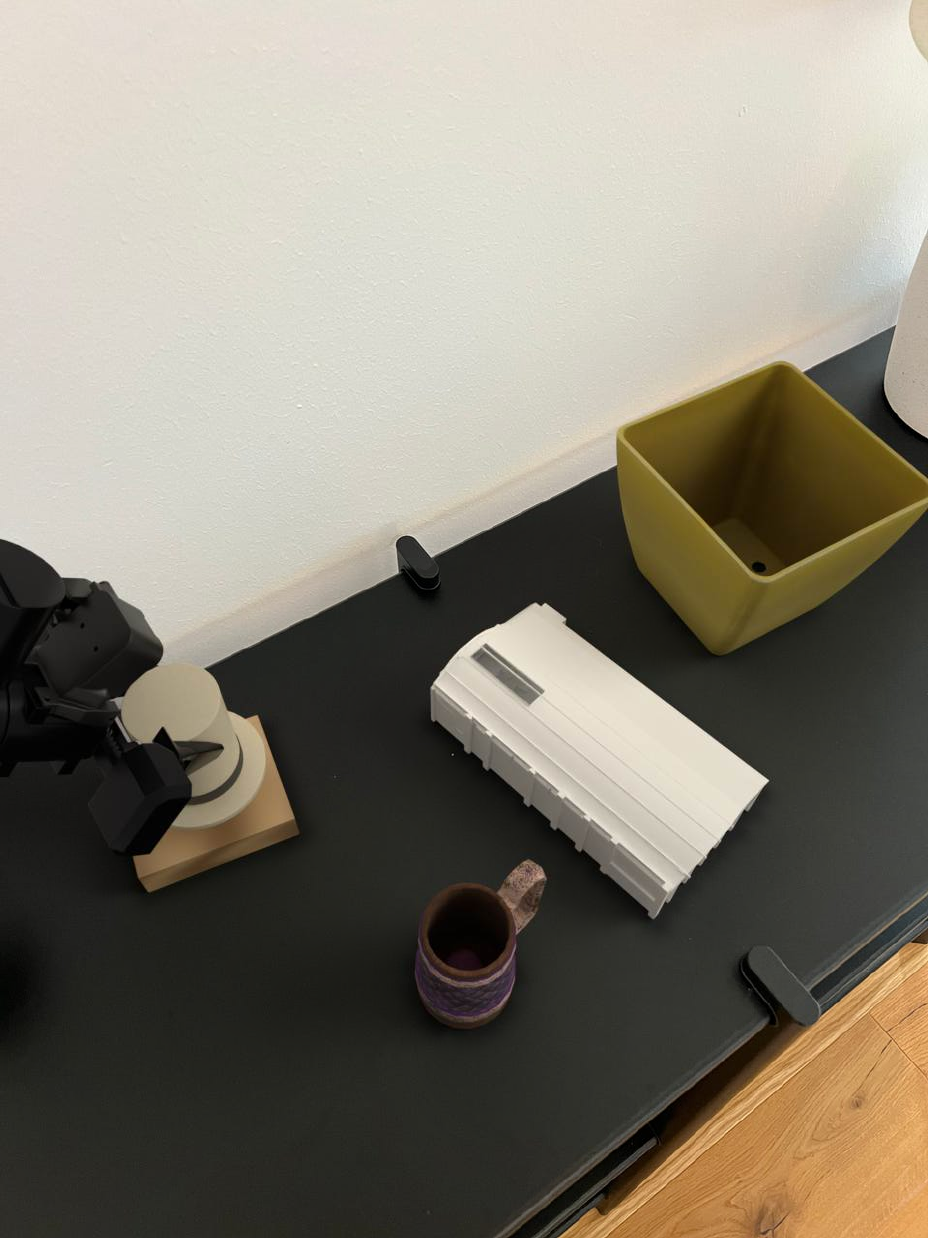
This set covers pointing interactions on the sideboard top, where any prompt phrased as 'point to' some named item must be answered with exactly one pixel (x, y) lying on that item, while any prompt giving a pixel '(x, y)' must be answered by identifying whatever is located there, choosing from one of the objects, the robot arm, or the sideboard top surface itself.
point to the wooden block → (222, 833)
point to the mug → (474, 946)
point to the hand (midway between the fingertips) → (198, 715)
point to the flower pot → (759, 502)
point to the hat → (198, 739)
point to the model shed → (594, 751)
